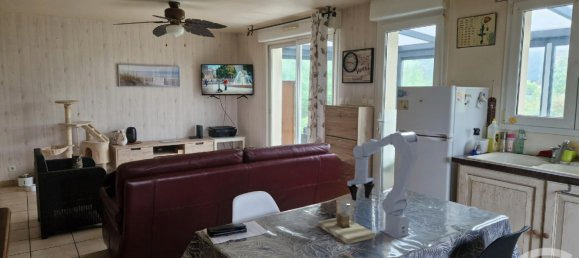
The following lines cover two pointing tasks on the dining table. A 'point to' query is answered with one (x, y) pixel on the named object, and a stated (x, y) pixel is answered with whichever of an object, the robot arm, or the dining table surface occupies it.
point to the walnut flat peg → (342, 220)
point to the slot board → (347, 231)
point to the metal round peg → (345, 208)
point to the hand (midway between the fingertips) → (360, 199)
